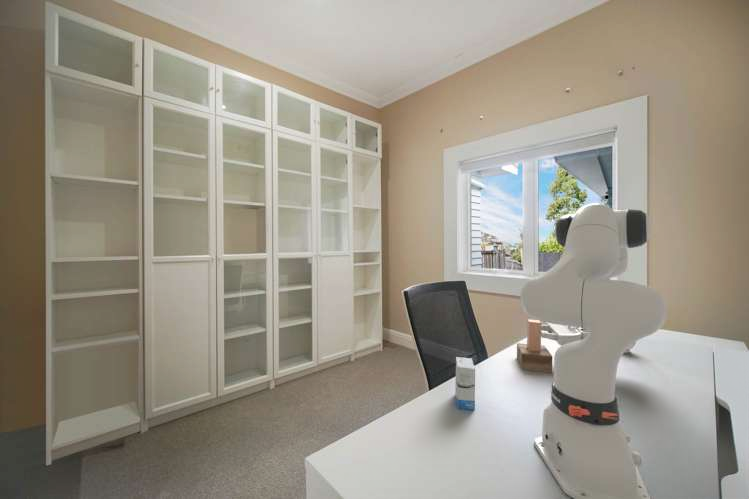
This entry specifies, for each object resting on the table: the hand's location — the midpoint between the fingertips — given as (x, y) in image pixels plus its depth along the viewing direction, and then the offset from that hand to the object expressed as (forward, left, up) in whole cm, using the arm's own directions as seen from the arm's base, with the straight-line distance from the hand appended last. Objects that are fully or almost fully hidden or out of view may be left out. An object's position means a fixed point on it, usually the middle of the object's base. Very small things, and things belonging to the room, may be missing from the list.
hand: (538, 331), depth 116 cm
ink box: (-37, +26, -13) cm, 47 cm away
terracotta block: (0, +1, -7) cm, 7 cm away
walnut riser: (0, +1, -13) cm, 13 cm away
